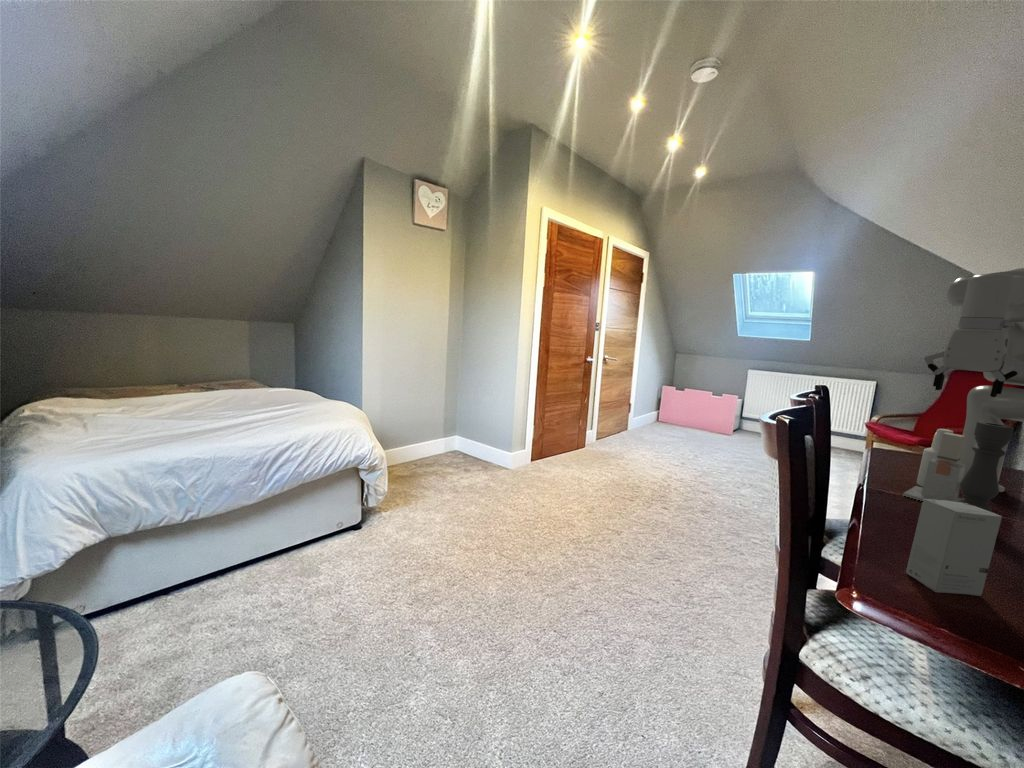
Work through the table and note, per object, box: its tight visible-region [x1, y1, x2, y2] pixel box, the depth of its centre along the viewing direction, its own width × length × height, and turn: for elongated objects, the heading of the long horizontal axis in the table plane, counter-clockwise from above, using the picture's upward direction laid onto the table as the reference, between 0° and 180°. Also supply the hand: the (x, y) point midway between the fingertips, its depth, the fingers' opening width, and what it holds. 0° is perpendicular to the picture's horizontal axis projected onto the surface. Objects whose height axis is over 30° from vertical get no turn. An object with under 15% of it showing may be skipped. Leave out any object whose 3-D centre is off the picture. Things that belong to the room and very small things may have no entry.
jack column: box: [937, 432, 965, 467], centre depth 112 cm, size 4×4×18 cm
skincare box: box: [905, 499, 1003, 597], centre depth 72 cm, size 8×6×15 cm
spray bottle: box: [916, 428, 954, 488], centre depth 123 cm, size 7×7×18 cm
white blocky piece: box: [902, 458, 966, 502], centre depth 113 cm, size 12×12×12 cm
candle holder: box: [957, 422, 1015, 513], centre depth 97 cm, size 6×6×25 cm
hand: (964, 393), depth 104 cm, fingers open, 9 cm apart
